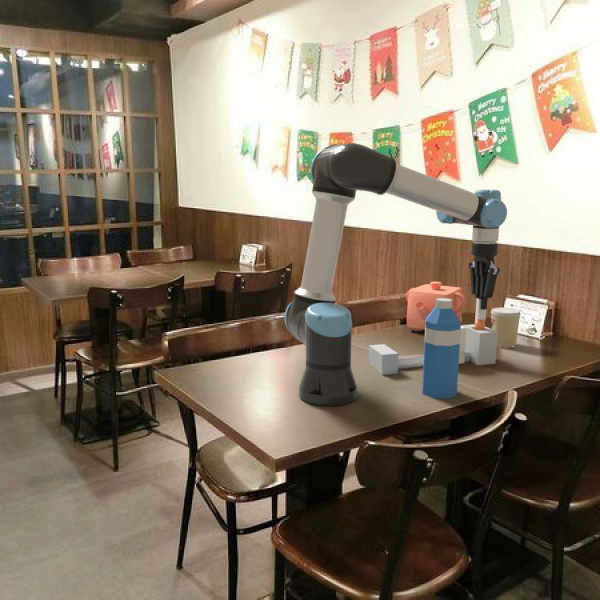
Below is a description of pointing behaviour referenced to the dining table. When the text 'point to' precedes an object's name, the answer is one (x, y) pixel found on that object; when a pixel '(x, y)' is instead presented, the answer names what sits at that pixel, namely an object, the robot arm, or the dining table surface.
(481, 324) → the button
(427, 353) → the water bottle
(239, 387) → the dining table surface
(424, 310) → the teapot
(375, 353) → the block
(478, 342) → the grey block with recess
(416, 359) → the rail
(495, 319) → the coffee cup
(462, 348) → the block
